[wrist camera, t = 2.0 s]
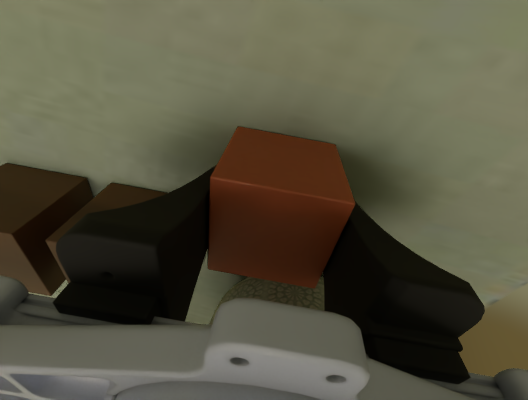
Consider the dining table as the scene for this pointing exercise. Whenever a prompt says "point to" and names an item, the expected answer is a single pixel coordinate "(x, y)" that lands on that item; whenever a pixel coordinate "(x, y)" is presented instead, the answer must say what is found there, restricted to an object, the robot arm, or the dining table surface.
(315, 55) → the dining table surface
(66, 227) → the walnut block
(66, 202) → the walnut block
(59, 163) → the dining table surface
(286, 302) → the planter
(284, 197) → the terracotta block
